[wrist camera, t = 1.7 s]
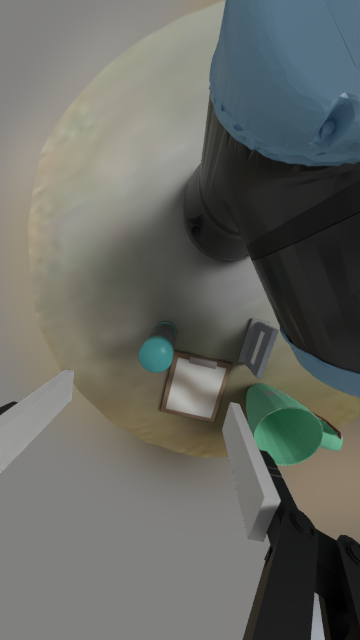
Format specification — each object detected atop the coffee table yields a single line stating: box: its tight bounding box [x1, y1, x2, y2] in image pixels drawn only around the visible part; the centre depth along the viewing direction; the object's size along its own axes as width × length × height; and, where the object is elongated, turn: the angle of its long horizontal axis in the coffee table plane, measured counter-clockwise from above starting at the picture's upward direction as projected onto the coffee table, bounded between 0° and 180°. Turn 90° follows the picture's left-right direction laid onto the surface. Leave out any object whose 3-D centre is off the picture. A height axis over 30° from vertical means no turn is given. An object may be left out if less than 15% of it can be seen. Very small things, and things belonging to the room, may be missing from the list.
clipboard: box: [160, 350, 232, 423], centre depth 34 cm, size 13×11×1 cm
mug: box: [246, 383, 343, 465], centre depth 30 cm, size 15×10×10 cm
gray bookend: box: [238, 318, 279, 378], centre depth 30 cm, size 8×3×6 cm, turn 167°
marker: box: [139, 322, 176, 373], centre depth 27 cm, size 4×4×11 cm
